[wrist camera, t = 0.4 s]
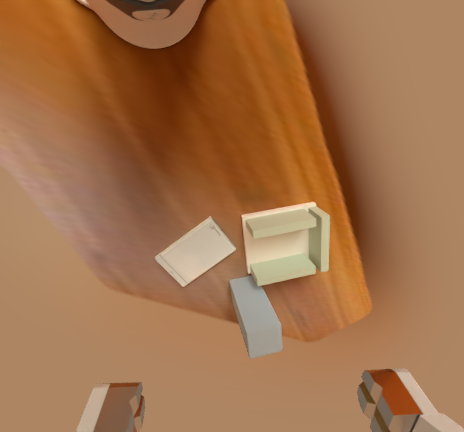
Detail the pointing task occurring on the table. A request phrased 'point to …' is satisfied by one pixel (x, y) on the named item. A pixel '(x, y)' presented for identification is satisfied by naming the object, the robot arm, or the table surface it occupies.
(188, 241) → the hard drive
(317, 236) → the cradle
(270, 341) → the block
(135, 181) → the table surface
